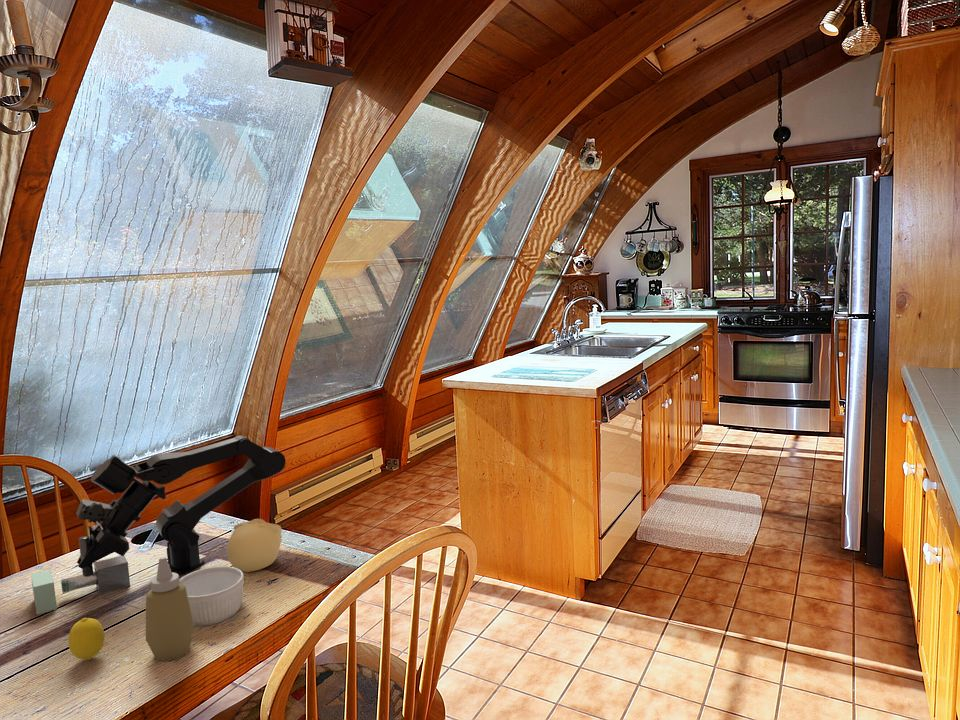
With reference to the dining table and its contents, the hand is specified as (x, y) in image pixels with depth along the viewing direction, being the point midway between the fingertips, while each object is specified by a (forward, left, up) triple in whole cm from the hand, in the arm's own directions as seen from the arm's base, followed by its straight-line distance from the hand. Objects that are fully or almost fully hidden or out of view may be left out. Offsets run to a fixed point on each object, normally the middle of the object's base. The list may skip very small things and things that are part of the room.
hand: (79, 565), depth 144 cm
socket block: (+4, +6, -7) cm, 10 cm away
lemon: (-23, +19, -7) cm, 31 cm away
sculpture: (-28, -22, -7) cm, 36 cm away
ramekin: (-33, -1, -7) cm, 34 cm away
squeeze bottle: (-36, +13, -7) cm, 39 cm away
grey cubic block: (-3, -5, -7) cm, 9 cm away
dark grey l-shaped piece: (-1, -2, -5) cm, 6 cm away
